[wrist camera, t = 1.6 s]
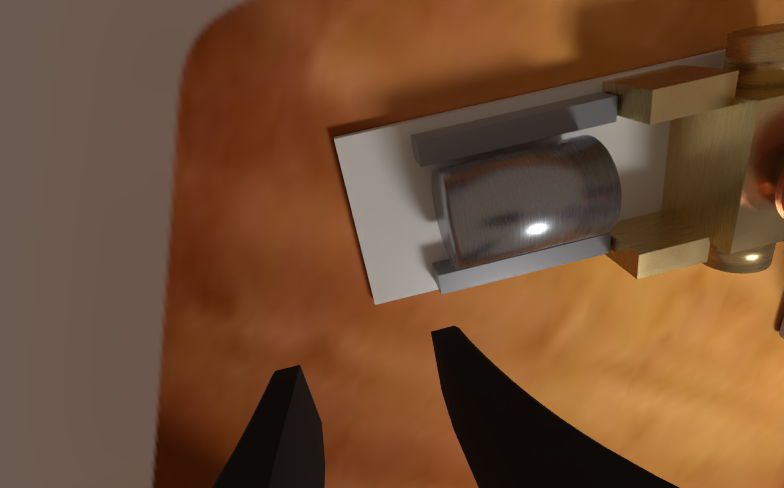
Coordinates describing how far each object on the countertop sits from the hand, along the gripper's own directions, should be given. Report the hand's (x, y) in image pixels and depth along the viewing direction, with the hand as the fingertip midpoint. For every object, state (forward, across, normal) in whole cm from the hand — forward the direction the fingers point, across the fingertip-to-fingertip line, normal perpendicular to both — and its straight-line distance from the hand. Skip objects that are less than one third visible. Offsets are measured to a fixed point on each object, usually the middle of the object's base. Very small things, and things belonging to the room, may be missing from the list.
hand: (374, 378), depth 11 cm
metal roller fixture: (+9, -10, 0) cm, 14 cm away
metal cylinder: (+9, -7, 0) cm, 11 cm away
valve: (+9, -15, 0) cm, 18 cm away
